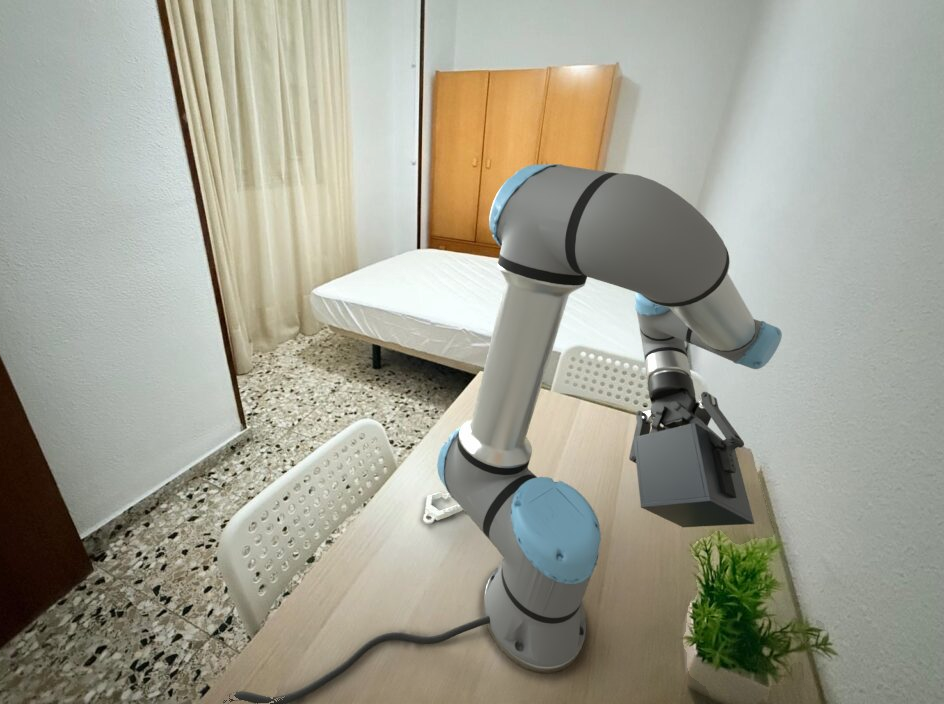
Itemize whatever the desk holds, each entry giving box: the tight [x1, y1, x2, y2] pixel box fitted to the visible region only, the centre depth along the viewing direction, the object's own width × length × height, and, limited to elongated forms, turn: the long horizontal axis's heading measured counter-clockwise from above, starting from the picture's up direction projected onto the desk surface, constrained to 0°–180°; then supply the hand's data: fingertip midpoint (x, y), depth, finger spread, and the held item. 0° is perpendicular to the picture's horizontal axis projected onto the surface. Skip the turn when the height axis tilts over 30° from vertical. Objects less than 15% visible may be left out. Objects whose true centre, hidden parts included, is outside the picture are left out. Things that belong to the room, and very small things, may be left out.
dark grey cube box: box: [633, 423, 755, 528], centre depth 67 cm, size 12×11×11 cm
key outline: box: [422, 491, 464, 525], centre depth 80 cm, size 13×5×2 cm, turn 114°
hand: (689, 499), depth 64 cm, fingers closed on dark grey cube box, 11 cm apart
